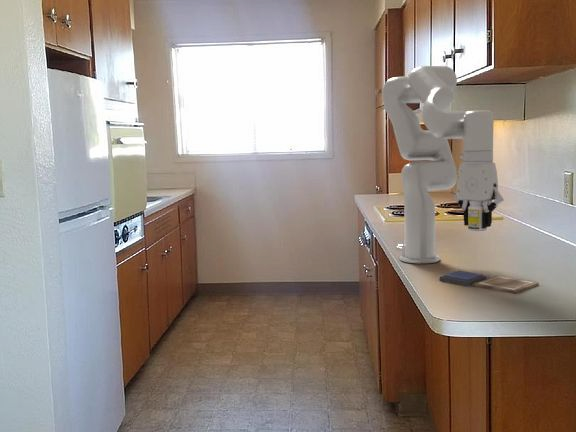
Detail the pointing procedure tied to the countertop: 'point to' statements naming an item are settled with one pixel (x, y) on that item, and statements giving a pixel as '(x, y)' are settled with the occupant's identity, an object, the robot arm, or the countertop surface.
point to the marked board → (506, 284)
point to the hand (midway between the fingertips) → (477, 225)
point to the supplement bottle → (475, 216)
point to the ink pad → (462, 278)
